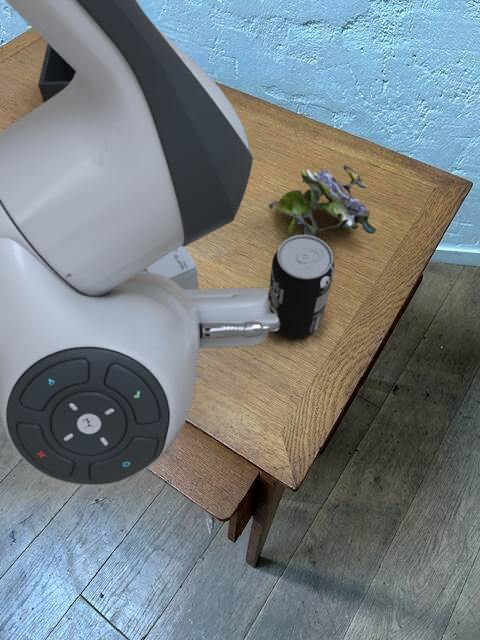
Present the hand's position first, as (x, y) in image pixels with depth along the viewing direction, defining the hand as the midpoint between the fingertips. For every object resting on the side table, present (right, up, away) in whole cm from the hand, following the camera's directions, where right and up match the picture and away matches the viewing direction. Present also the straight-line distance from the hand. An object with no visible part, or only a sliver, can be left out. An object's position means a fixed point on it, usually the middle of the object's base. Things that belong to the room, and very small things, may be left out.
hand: (157, 300), depth 53 cm
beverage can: (+14, -2, +14) cm, 20 cm away
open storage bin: (-14, +32, +35) cm, 49 cm away
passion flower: (+19, +10, +22) cm, 31 cm away
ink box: (-1, -1, +15) cm, 15 cm away
